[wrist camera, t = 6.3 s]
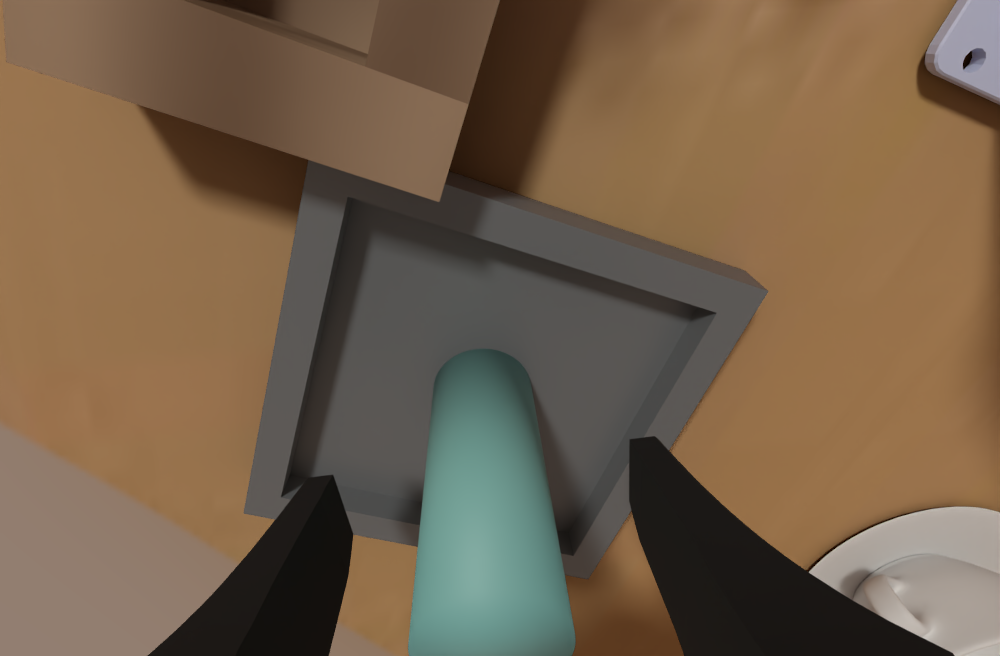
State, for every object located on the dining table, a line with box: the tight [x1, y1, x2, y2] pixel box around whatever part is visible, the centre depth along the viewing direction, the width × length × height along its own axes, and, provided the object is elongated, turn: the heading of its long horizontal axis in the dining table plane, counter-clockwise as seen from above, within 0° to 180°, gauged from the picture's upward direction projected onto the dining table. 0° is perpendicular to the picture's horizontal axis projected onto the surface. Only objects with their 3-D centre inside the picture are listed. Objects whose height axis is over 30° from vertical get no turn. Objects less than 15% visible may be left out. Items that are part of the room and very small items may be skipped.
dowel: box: [408, 349, 576, 656], centre depth 13 cm, size 3×3×8 cm
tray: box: [244, 160, 768, 579], centre depth 17 cm, size 12×12×1 cm
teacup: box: [809, 507, 1000, 656], centre depth 22 cm, size 10×10×5 cm
